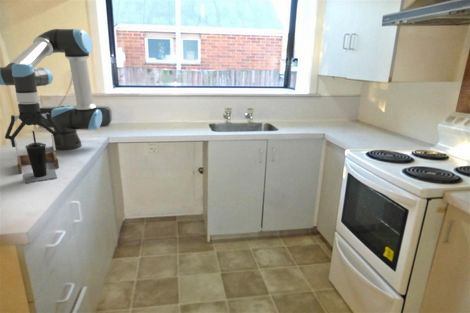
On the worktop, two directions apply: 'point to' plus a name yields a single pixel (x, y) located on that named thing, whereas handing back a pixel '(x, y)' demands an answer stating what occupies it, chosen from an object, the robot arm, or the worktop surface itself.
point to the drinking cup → (37, 157)
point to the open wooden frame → (25, 160)
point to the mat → (30, 177)
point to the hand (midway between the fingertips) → (36, 152)
